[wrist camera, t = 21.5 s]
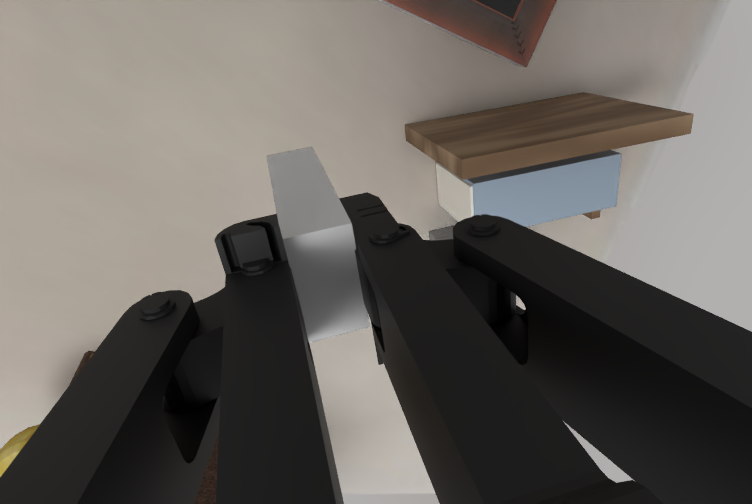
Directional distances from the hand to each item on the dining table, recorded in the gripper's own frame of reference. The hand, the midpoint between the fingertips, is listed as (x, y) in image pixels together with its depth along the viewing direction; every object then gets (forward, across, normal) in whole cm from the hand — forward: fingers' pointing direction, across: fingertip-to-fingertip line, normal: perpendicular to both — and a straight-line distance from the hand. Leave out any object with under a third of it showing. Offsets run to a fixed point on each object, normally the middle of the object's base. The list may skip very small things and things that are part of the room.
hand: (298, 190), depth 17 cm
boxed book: (+30, +22, -13) cm, 39 cm away
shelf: (+30, +21, -13) cm, 39 cm away
